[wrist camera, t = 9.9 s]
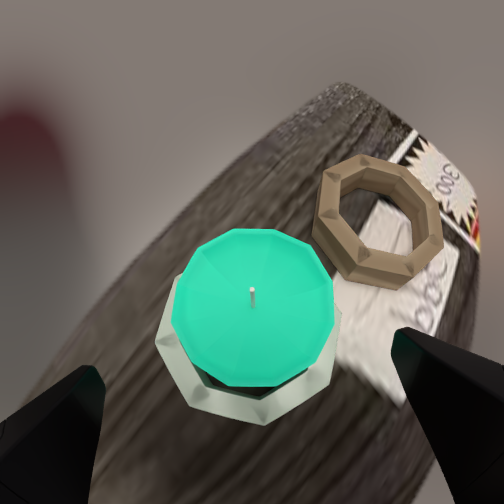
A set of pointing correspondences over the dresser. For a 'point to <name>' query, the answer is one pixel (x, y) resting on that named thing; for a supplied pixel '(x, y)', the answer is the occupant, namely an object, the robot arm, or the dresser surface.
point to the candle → (254, 307)
